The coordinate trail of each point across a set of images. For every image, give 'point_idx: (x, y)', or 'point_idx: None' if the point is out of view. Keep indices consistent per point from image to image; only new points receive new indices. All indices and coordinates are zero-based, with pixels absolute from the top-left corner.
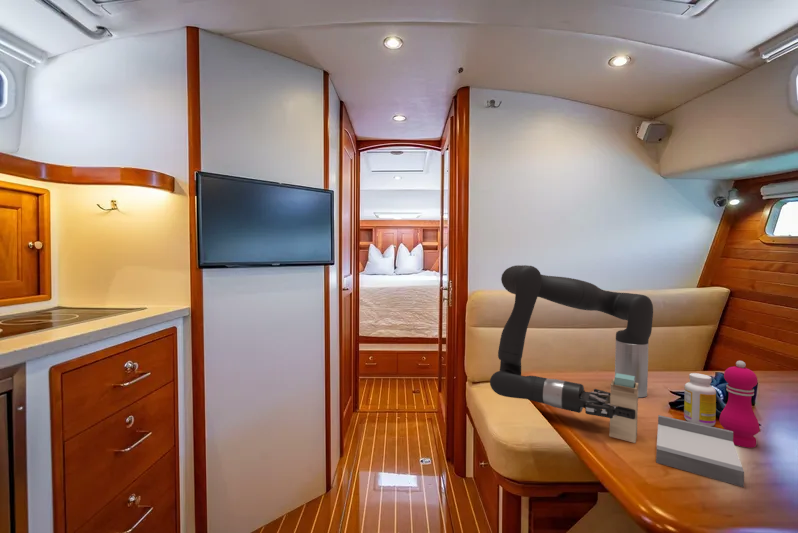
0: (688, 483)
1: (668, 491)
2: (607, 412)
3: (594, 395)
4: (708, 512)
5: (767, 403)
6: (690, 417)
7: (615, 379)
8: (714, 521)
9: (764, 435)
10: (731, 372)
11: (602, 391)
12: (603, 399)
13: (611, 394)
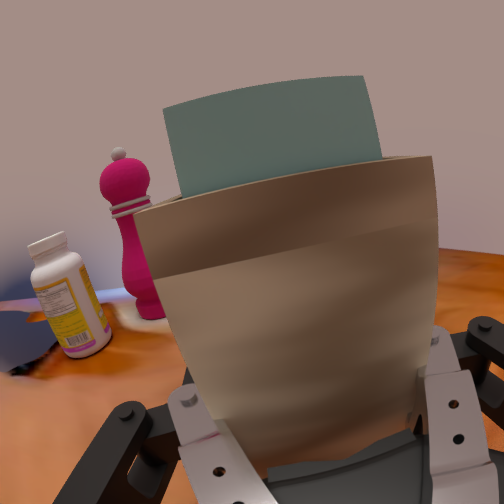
0: (438, 290)
1: (493, 286)
2: (490, 362)
3: (444, 501)
4: (476, 261)
5: (28, 306)
6: (92, 340)
7: (366, 102)
8: (484, 255)
9: (124, 298)
10: (129, 165)
11: (77, 498)
12: (433, 404)
13: (432, 273)
